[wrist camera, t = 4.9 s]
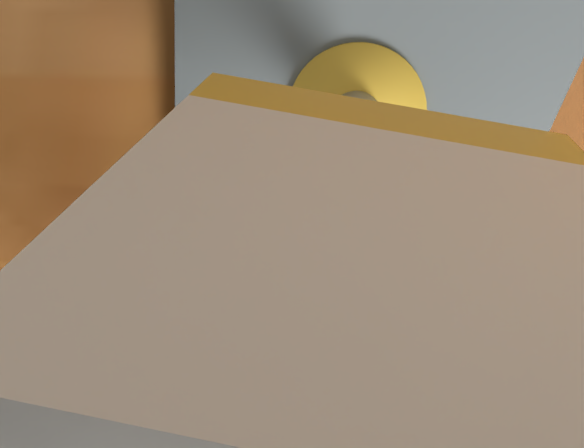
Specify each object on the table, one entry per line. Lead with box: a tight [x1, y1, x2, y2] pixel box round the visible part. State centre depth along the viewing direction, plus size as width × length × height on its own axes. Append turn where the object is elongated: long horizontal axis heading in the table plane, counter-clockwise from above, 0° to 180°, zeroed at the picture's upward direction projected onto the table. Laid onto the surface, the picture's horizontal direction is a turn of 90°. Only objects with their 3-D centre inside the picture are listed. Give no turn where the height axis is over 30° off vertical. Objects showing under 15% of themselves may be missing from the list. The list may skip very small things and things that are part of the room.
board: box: [175, 0, 584, 131], centre depth 17 cm, size 20×12×5 cm, turn 172°
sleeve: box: [0, 73, 584, 448], centre depth 6 cm, size 6×6×6 cm
